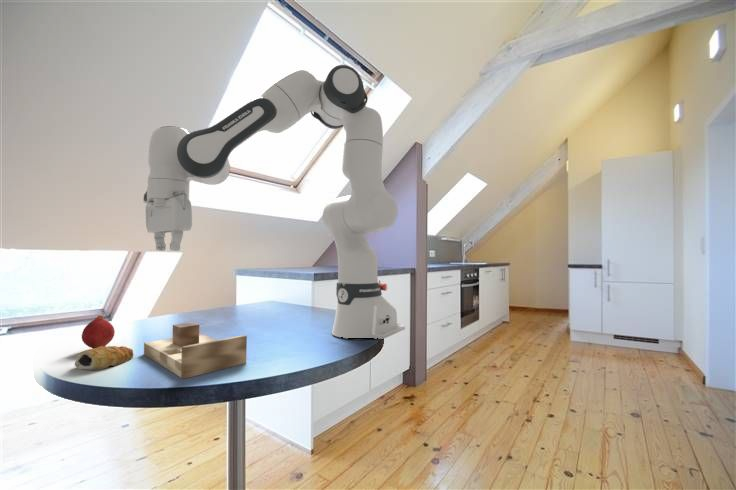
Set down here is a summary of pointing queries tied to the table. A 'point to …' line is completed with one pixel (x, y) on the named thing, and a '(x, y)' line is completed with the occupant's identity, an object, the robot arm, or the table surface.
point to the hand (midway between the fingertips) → (167, 250)
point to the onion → (98, 333)
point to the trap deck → (198, 355)
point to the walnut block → (185, 334)
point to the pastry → (103, 357)
